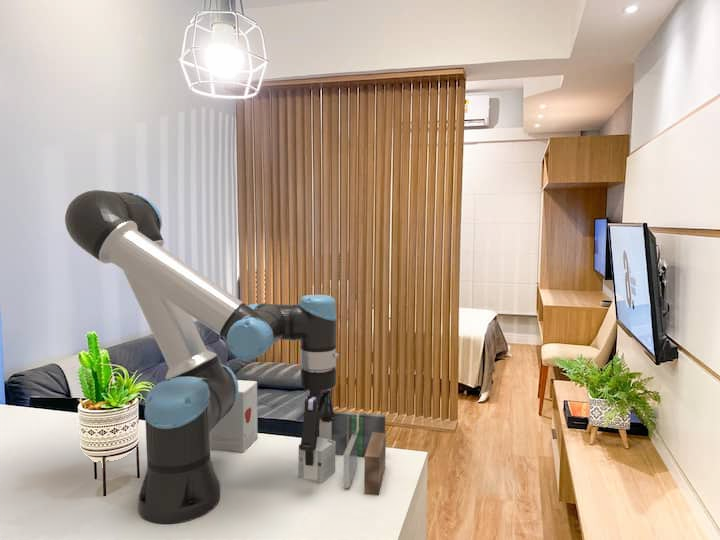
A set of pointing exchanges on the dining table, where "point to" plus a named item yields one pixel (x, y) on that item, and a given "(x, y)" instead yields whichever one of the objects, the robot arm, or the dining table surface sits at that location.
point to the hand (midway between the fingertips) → (318, 463)
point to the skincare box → (320, 460)
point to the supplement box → (238, 421)
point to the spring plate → (351, 457)
